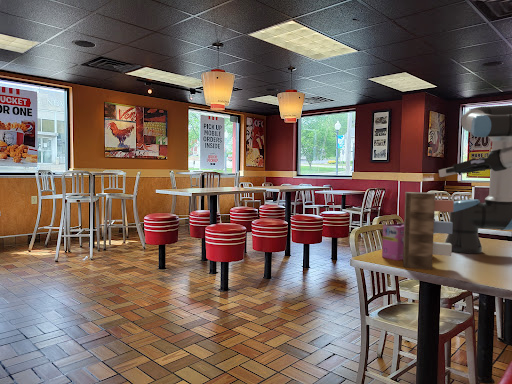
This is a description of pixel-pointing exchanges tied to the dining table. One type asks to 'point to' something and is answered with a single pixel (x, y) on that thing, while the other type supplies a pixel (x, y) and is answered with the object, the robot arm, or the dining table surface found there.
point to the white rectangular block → (442, 248)
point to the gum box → (393, 241)
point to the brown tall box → (418, 230)
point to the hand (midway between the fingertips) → (440, 173)
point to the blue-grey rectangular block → (443, 227)
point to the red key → (444, 205)
